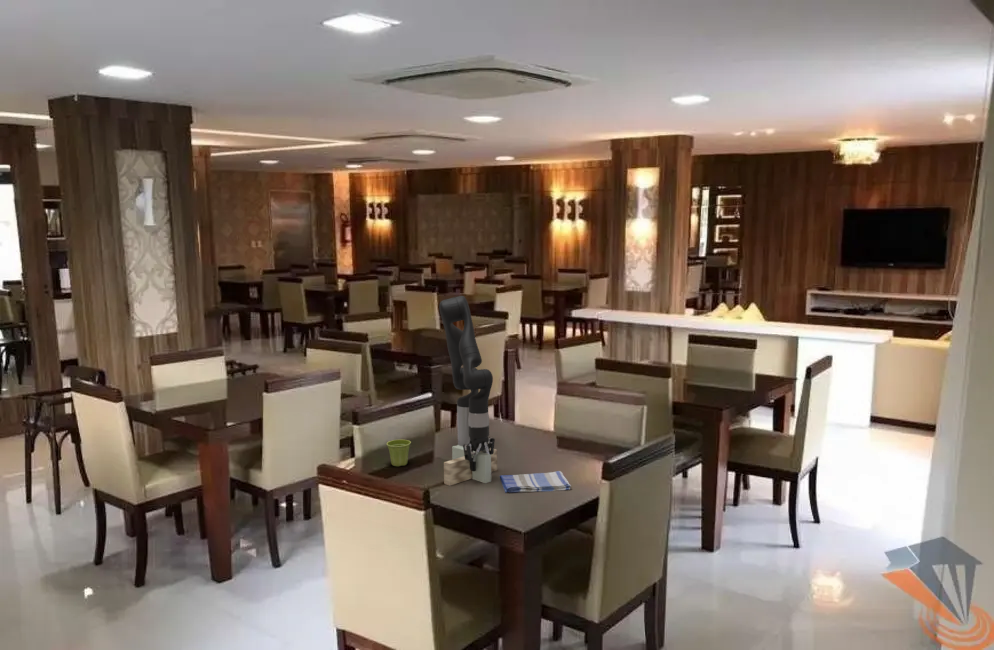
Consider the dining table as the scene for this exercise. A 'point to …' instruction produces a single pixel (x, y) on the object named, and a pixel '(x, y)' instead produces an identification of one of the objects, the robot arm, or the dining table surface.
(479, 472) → the sage slotted board
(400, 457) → the plant pot
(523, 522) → the dining table surface
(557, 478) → the dish towel
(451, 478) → the maple slotted board
